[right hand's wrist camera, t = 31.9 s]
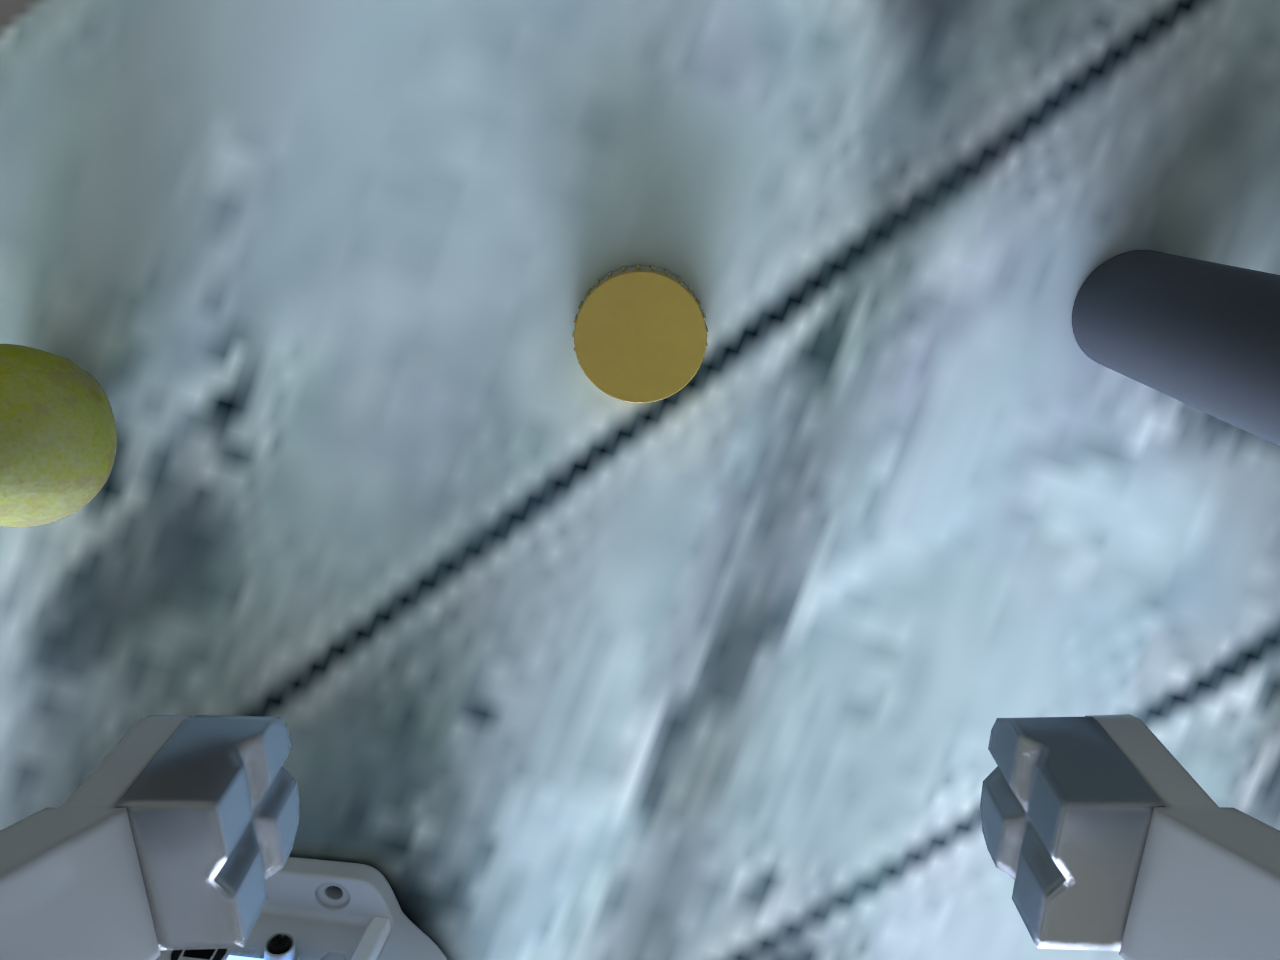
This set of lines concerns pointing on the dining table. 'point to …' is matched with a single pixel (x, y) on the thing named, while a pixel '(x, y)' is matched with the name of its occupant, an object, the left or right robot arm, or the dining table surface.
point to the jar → (1188, 333)
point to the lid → (640, 334)
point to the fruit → (50, 437)
